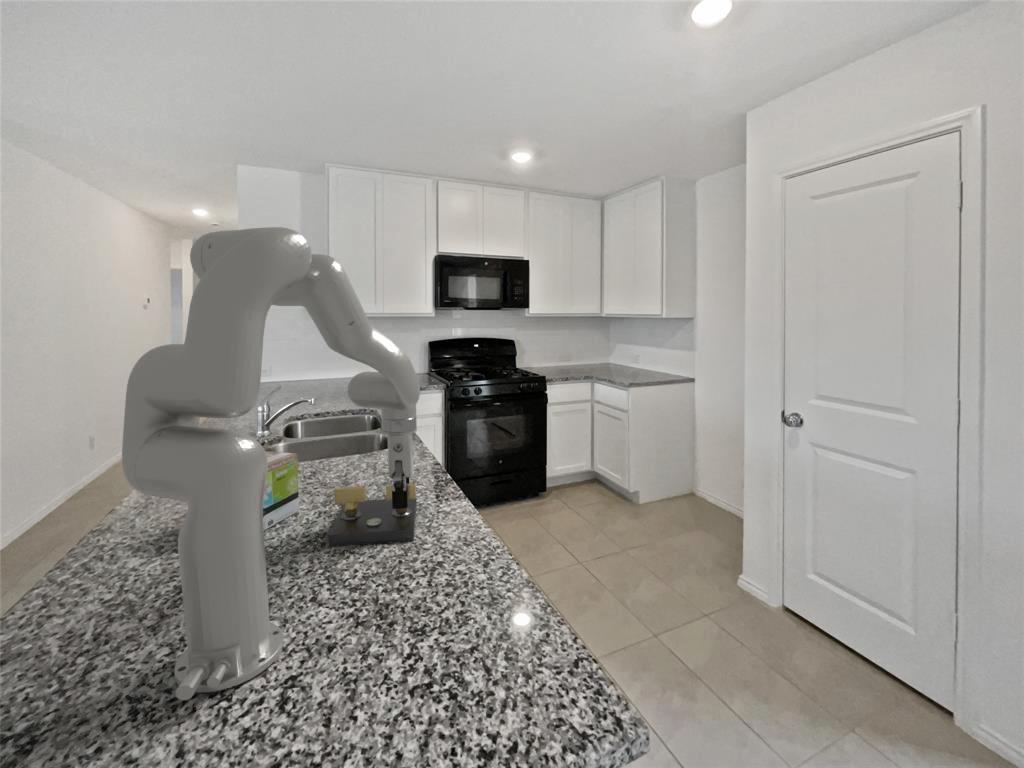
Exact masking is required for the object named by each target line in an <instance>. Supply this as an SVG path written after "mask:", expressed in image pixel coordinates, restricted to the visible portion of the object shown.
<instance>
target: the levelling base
mask: <svg viewBox="0 0 1024 768" xmlns="http://www.w3.org/2000/svg"><path fill="white" fill-rule="evenodd" d="M417 499H418V498H417V496H416V499H408V507H407V512H404V513H397V512H396V509H393V508H392V500H386V498H384V499H366V500H365V502H357V514H356V515H354V516H346V515H345V503H342V506H341V508H340V510H339V512H338V514H337V516H336V519H335V521H334V522H333V525H332V527H331V529H330V531H329V533H328V534H327V535H328V536H327V537H328V539H327V540H328V541H327V542H328V547H341V546H357V545H370V544H384V543H385V544H386V543H397V542H398V543H400V542H412V541H415V531H416V530H415V529H416V519H417V518H416V517H417V509H418V506H417V502H418V501H417Z"/></svg>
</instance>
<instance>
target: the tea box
mask: <svg viewBox="0 0 1024 768" xmlns="http://www.w3.org/2000/svg"><path fill="white" fill-rule="evenodd" d="M265 452H266V455H267V460H268V471H267V478H266V484H265V490H264V498H263V531H266V530H268V529H269V528H271V527H273V526H274V525H276V524H278V523H280V522H282V521H284V520H286V519H287V518H288V517H291V516H293V515H294V514H297V513H298V512H299V511H300V500H299V499H300V498H299V494H300V493H299V472H298V471H299V470H298V465H299V464H298V463H299V462H298V454H297V453H291V452H280V451H279V452H278V451H270V450H269V451H267V450H265Z"/></svg>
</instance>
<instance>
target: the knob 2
mask: <svg viewBox="0 0 1024 768" xmlns="http://www.w3.org/2000/svg"><path fill="white" fill-rule="evenodd" d="M416 489H417V487H416V483H415V482H413V483H412V482H411V483H409V484H406V490H407V499H416V497H417V496H416V495H417V494H416V493H417V490H416ZM392 491H393V483H392V484H390V483H389V484H388V483H387V484H386V486H385V499H386V500H392ZM396 512H397V513H404V512H407V508H402V509H396Z"/></svg>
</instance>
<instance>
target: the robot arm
mask: <svg viewBox="0 0 1024 768" xmlns="http://www.w3.org/2000/svg"><path fill="white" fill-rule="evenodd" d="M311 248H312V247H311V245H310V243H309V241H308V240H307V238H306V237H305V236H304V235H302V234H301V233H300V232H298V231H296V230H294V229H291V228H289V227H288V228H287V227H281V226H271V227H269V226H268V227H256V228H255V227H252V228H244V229H235V230H234V229H232V230H220V231H213V232H212V231H211V232H208V233H205V234H203V235H201V236H200V237H199V238H197V239H196V240H195V241H194V243H193V244H192V246H191V248H190V253H189V257H190V258H189V261H190V265H191V268H192V270H193V272H194V273H195V275H196V276H197V278H198V279H199V281H198V283H197V284H196V286H195V288H194V290H193V293H192V296H191V299H190V304H189V310H188V317H187V322H186V331H185V332H186V333H185V337H184V342H183V343H180V344H179V343H175V344H173V343H171V344H164V345H159V346H156V347H154V348H152V349H150V350H148V351H147V352H145V353H144V354H142V356H141V357H139V359H138V360H137V361H136V363H135V364H134V366H133V368H132V370H131V371H130V374H129V377H128V379H127V384H126V385H127V386H126V391H125V392H126V393H125V402H124V403H125V404H124V405H125V406H124V417H123V430H122V445H121V447H122V449H121V464H122V471H123V474H124V477H125V479H126V481H127V483H128V484H129V486H131V487H132V488H133V489H134V490H136V491H137V492H139V493H141V494H143V495H147V496H151V497H155V498H162V499H168V500H174V501H179V502H183V503H186V504H187V511H186V515H185V518H184V520H183V522H182V524H181V527H180V529H179V533H178V538H177V552H178V555H177V556H178V562H179V572H180V573H179V575H180V584H181V585H180V586H181V594H182V605H183V615H184V623H185V624H184V625H185V636H186V638H185V639H186V647H187V648H186V649H185V650H184V651H183V652H182V653H181V655H180V656H178V658H177V661H176V662H175V665H174V671H173V672H174V680H175V682H176V684H177V688H176V689H175V697H176V698H177V699H178V700H179V701H188V700H190V699H191V698H192V697H193V696H194V694H195V693H197V694H198V693H200V694H201V693H202V692H203V693H213V692H219V691H224V690H227V688H228V689H231V688H234V687H236V686H238V685H241V684H244V683H245V682H247V681H249V680H251V679H253V678H255V677H256V676H258V675H260V674H261V673H263V672H264V671H266V669H267V668H269V667H270V666H271V665H272V664H273V663H274V662H275V661H276V659H278V657H279V656H280V655H281V652H282V650H283V647H284V643H285V642H284V640H285V639H284V633H283V630H282V629H281V628H280V627H279V626H278V625H276V624H274V623H273V622H270V608H269V606H270V605H269V592H268V591H269V590H268V577H267V576H268V575H267V564H266V563H267V562H266V561H267V560H266V547H265V535H264V531H265V530H264V531H263V498H264V490H265V484H266V478H267V471H268V460H267V455H266V452H265V451H266V450H265V448H264V447H263V445H262V444H261V443H260V442H259V441H258V440H257V439H255V438H254V437H252V436H251V435H248V434H246V433H244V432H240V431H237V430H233V429H225V428H216V427H215V428H214V427H213V428H212V427H202V426H199V425H200V418H206V419H207V418H210V419H234V418H239V417H242V416H244V415H246V414H248V413H250V412H251V411H252V410H253V408H254V407H256V404H257V402H258V399H259V395H260V389H261V379H262V365H263V364H262V363H263V349H264V337H265V336H264V335H265V328H266V327H265V326H266V320H267V316H268V313H269V311H270V308H271V307H272V306H275V307H277V306H278V307H303V308H305V310H306V311H307V313H308V316H310V318H311V320H312V321H313V323H314V325H315V326H316V328H317V330H318V331H319V333H320V335H321V337H322V338H323V340H324V342H325V343H326V345H327V347H329V349H331V350H332V351H334V352H335V353H338V354H340V355H342V356H344V357H345V358H348V359H351V360H353V361H356V362H359V363H362V364H364V365H367V366H368V367H370V368H372V369H374V370H376V371H369V370H368V371H362V372H360V373H357V374H355V375H354V376H353V377H352V378H351V379H350V381H349V382H348V385H347V396H348V398H349V400H350V401H351V402H352V403H353V404H354V405H356V406H358V407H360V408H366V409H377V410H380V409H381V411H380V412H381V432H382V434H384V435H387V459H388V460H387V461H388V471H389V473H388V474H389V478H390V479H391V480H392V484H393V491H392V508H393V509H402V508H407V507H408V499H407V490H406V484H410V479H412V478H413V476H414V470H415V469H414V468H415V467H414V466H415V464H414V463H415V462H414V461H415V459H414V439H413V438H414V437H413V434H414V433H415V432H417V430H418V429H417V428H418V427H417V425H418V424H417V404H418V402H419V400H420V397H421V396H420V395H421V386H420V381H419V379H418V376H417V373H416V370H415V369H414V366H413V363H412V362H411V361H412V360H411V359H410V357H409V356H408V355H407V353H406V352H405V351H404V349H402V348H401V347H400V346H399V345H398V344H397V343H395V342H394V341H392V339H390V338H389V337H388V336H386V335H385V334H383V333H382V332H381V331H380V330H378V329H376V328H375V327H374V326H372V324H371V323H370V320H369V318H368V315H367V314H366V312H365V310H364V308H363V305H362V304H361V302H360V299H359V297H358V295H357V293H356V291H355V289H354V287H353V284H352V283H351V281H350V279H349V276H348V275H347V272H346V271H345V269H344V267H343V265H342V264H341V262H339V261H338V260H337V259H336V258H335V257H332V256H330V255H327V254H321V253H319V254H318V253H317V254H315V253H312V249H311ZM233 686H234V687H233Z"/></svg>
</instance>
